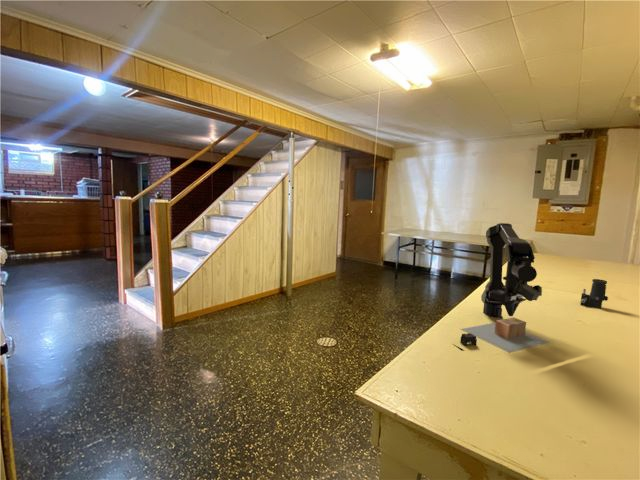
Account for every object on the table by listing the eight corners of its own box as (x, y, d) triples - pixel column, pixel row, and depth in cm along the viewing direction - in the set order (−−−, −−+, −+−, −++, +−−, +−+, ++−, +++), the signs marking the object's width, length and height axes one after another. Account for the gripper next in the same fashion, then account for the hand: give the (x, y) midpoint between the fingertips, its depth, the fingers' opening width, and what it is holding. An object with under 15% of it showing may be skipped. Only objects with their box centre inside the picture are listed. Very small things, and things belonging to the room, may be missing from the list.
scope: (584, 276, 162) (610, 280, 155) (580, 302, 164) (606, 307, 157) (583, 279, 156) (610, 283, 149) (579, 306, 157) (606, 311, 151)
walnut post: (495, 320, 118) (513, 317, 122) (494, 333, 118) (511, 329, 122) (508, 325, 113) (526, 322, 117) (507, 338, 114) (524, 334, 118)
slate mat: (460, 331, 121) (460, 329, 121) (498, 323, 130) (498, 321, 130) (509, 354, 103) (509, 352, 103) (549, 344, 112) (550, 342, 112)
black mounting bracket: (476, 341, 113) (477, 329, 113) (491, 351, 106) (492, 338, 106) (445, 344, 111) (446, 332, 110) (459, 354, 104) (460, 341, 103)
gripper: (520, 282, 104) (515, 327, 106) (554, 278, 111) (548, 320, 113) (490, 275, 114) (485, 316, 116) (523, 271, 121) (518, 310, 123)
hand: (510, 316), depth 117 cm, fingers closed
